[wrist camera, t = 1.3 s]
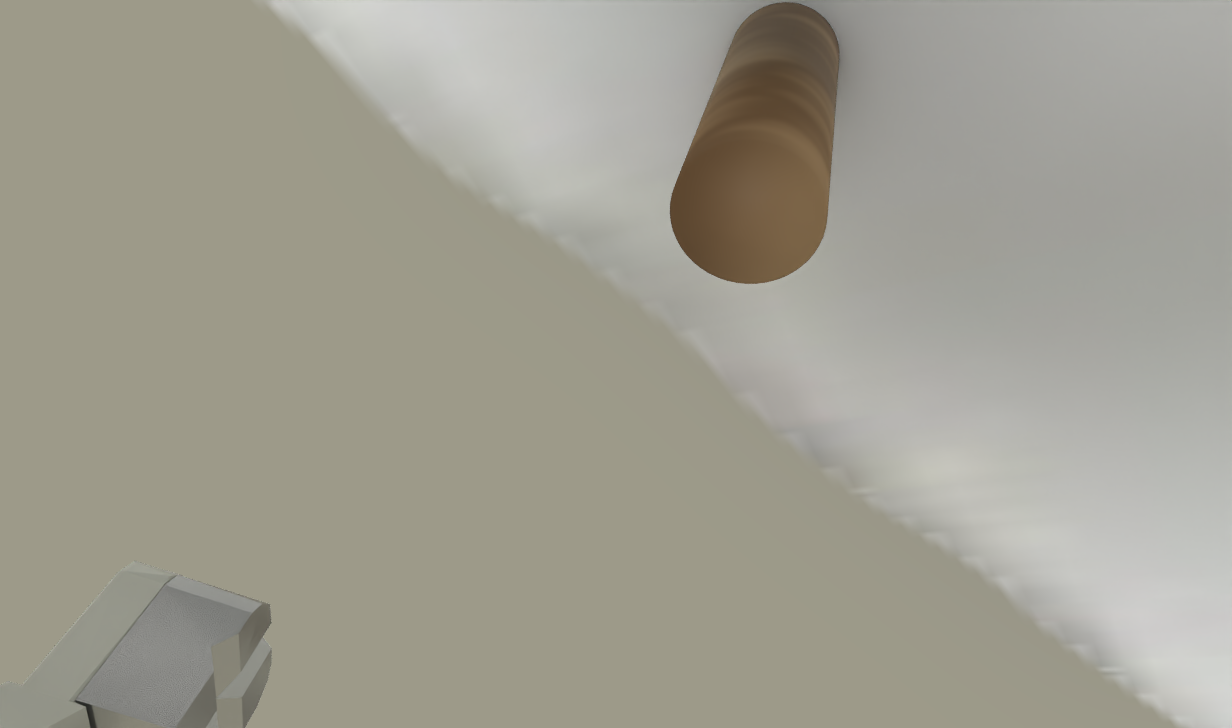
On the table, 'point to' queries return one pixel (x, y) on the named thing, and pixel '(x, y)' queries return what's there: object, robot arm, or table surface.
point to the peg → (762, 151)
